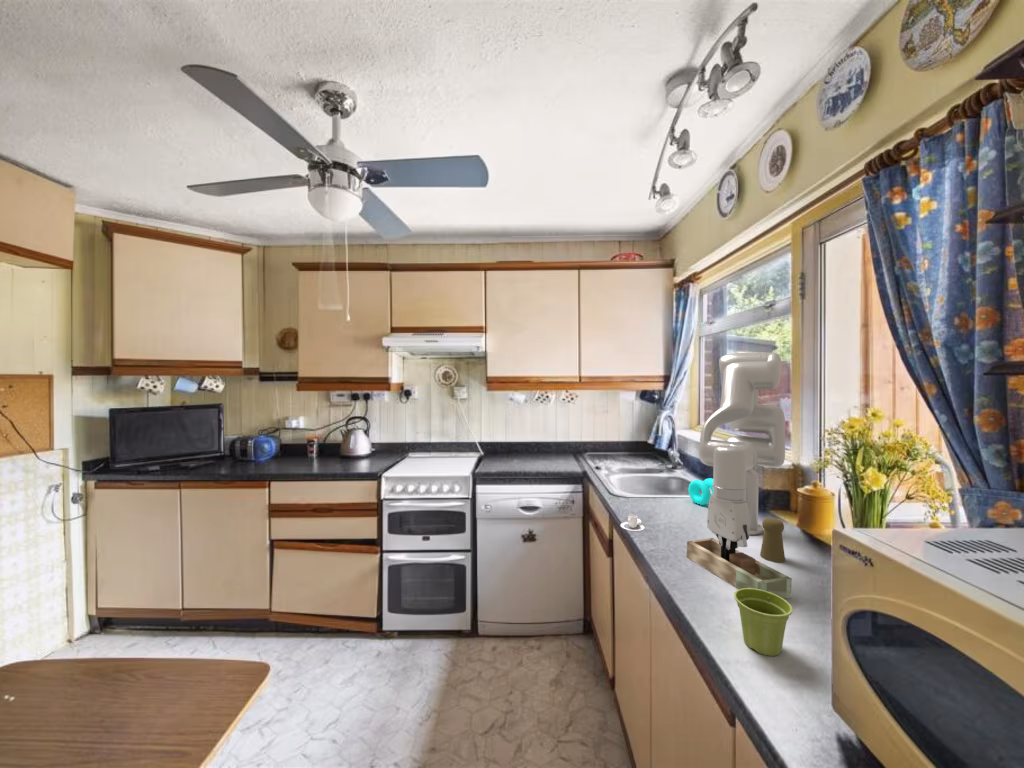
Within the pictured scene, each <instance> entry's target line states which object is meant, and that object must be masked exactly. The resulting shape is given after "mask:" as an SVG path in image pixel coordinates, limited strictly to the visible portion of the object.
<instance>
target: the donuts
mask: <svg viewBox="0 0 1024 768" xmlns="http://www.w3.org/2000/svg"><path fill="white" fill-rule="evenodd" d="M712 485H713V478H712V477H711V478H710V477H708V478H705V479H704V480H701V479H694V480H692V481H691V482H690V483H689V484H688V488H687V489H688V490H687V491H688V495H689V497H690V499H691V501H692V502H693V503H695V504H696V503H697V504H696V505H698V504H700V505H699V506H705V505H707V504H709V500H710V497H711V494H713V488H712ZM710 489H711V490H710ZM700 491H701V492H700Z"/></svg>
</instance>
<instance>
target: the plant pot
mask: <svg viewBox="0 0 1024 768" xmlns="http://www.w3.org/2000/svg"><path fill="white" fill-rule="evenodd" d="M733 597H734V600H735V602H736V605H737V607H738V609H739V616H740V622H741V630H742V631H741V632H742V638H743V641H744V643H745V645H746V646H747V647H748V649H753V650H755V651H756V652H758V654H761V655H765V656H771V657H774V656H778V655H779V654H780V653H781V652H782V648H783V644H784V638H785V631H786V627H787V621H788V620H789V617H790V616H791V615H792V614H793V607H792V605H791V603H789V601H787V599H783V598H781V597H780V596H778V595H775V594H773V593H770V592H767V591H764V590H760V589H753V588H743V589H737V590H735V591H734V594H733Z"/></svg>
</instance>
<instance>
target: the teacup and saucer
mask: <svg viewBox="0 0 1024 768" xmlns="http://www.w3.org/2000/svg"><path fill="white" fill-rule="evenodd" d="M625 525H628V526H629V528H627V527H625ZM637 526H639V527H640V528H639V529H636V528H637ZM620 527H621V528H622V529H624V530H626V531H631V532H641V531H644V529H646V528H645V526H644V525H643V524H642V520H641V519H640V518H638V515H635V514H628V515H627V521H625V522H621V523H620ZM631 528H632V529H631Z"/></svg>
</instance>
